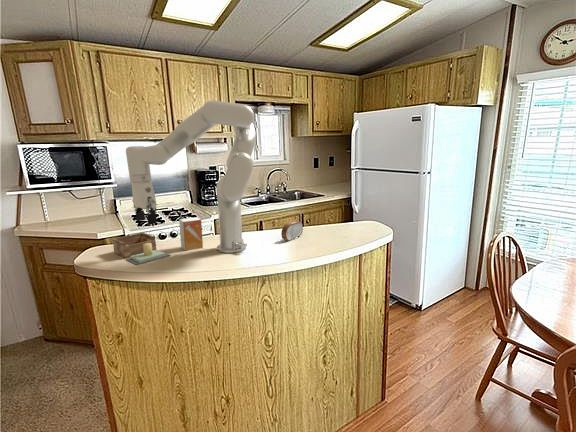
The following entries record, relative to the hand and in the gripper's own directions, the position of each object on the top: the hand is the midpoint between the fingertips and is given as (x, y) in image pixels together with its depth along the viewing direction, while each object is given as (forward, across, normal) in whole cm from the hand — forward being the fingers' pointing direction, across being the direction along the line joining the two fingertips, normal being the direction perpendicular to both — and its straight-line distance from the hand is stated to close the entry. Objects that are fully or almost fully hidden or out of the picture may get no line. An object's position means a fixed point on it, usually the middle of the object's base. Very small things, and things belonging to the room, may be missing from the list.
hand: (146, 222), depth 127 cm
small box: (+16, -1, -18) cm, 24 cm away
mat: (+15, +1, +1) cm, 15 cm away
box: (+15, +12, +1) cm, 19 cm away
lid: (+14, 0, +1) cm, 15 cm away
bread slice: (+17, -27, -57) cm, 66 cm away
